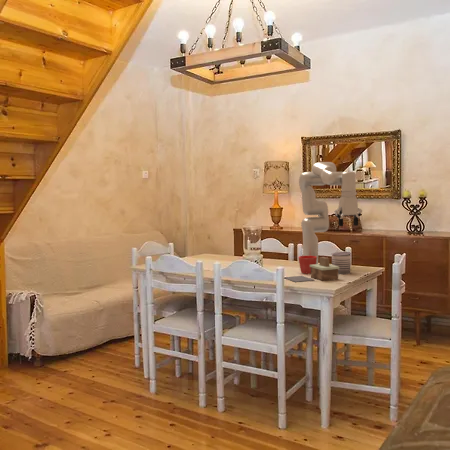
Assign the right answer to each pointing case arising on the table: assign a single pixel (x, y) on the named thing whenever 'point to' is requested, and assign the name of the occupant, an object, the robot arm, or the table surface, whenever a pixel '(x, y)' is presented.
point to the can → (342, 261)
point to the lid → (324, 264)
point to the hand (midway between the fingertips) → (348, 225)
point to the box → (324, 274)
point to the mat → (299, 279)
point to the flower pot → (306, 263)
